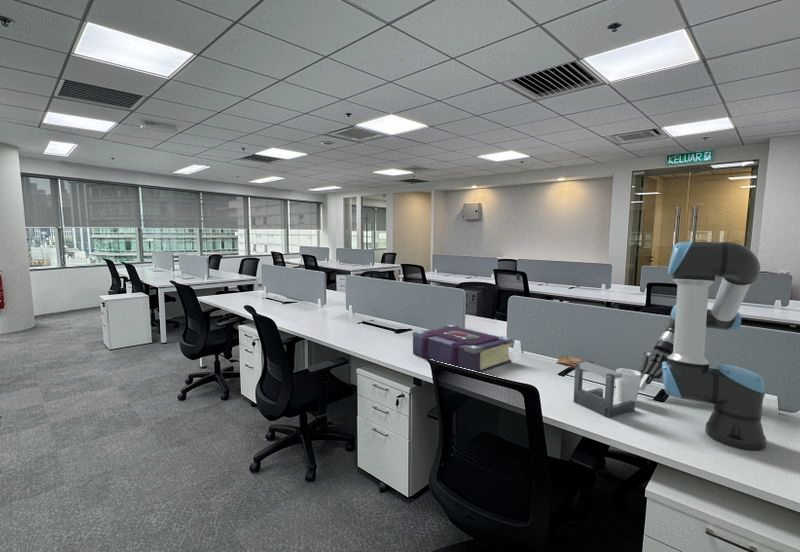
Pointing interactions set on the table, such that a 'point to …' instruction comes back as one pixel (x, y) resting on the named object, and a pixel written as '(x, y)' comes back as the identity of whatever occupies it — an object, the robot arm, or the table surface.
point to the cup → (627, 384)
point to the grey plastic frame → (599, 391)
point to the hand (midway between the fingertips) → (640, 388)
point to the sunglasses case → (570, 361)
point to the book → (462, 347)
